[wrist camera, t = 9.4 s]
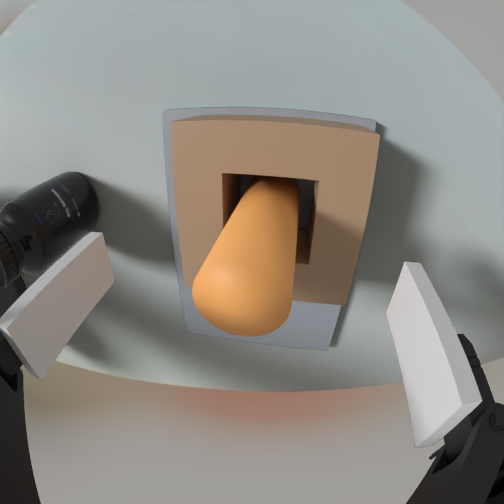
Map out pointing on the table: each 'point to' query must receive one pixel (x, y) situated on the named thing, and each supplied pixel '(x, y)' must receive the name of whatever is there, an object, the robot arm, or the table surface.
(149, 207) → the table surface
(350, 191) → the socket board
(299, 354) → the table surface
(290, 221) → the peg
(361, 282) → the table surface
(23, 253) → the supplement bottle
